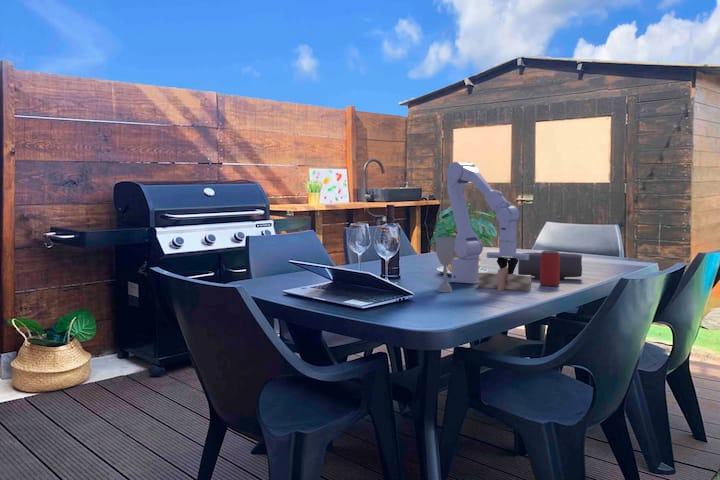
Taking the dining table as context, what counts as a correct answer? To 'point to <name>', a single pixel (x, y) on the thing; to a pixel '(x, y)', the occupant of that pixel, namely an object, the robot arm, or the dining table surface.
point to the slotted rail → (513, 282)
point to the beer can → (550, 268)
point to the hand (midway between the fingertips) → (507, 279)
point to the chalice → (445, 258)
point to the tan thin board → (502, 278)
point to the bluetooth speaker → (568, 265)
